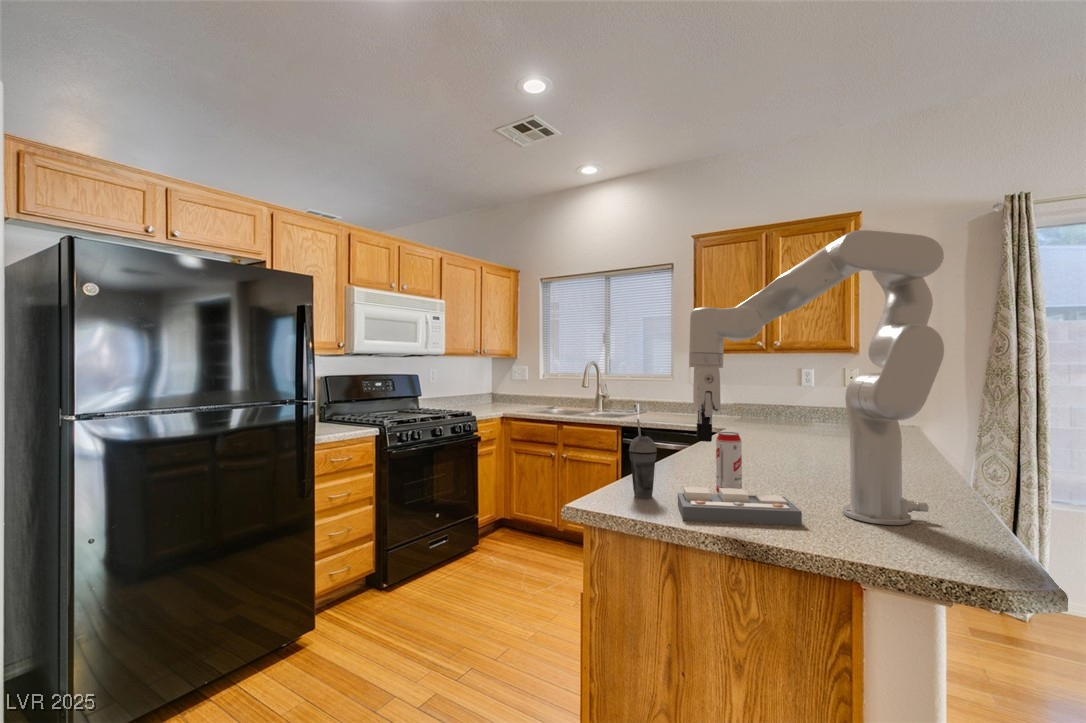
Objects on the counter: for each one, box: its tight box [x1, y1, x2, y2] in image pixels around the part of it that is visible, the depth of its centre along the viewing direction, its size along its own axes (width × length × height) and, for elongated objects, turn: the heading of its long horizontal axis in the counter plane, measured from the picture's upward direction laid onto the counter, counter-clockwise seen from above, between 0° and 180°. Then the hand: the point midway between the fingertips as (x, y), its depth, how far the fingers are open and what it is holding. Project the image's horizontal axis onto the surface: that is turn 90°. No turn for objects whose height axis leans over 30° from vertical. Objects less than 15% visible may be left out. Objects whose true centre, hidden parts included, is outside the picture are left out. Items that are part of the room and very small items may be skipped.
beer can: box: [715, 431, 743, 494], centre depth 130 cm, size 6×6×16 cm
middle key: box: [718, 488, 750, 503], centre depth 114 cm, size 5×5×3 cm
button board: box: [677, 492, 803, 527], centre depth 112 cm, size 24×12×4 cm, turn 80°
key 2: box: [754, 494, 787, 505], centre depth 113 cm, size 5×5×3 cm
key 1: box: [683, 486, 712, 502], centre depth 116 cm, size 5×5×3 cm
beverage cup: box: [628, 418, 658, 500], centre depth 129 cm, size 7×7×20 cm
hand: (704, 440), depth 115 cm, fingers closed
